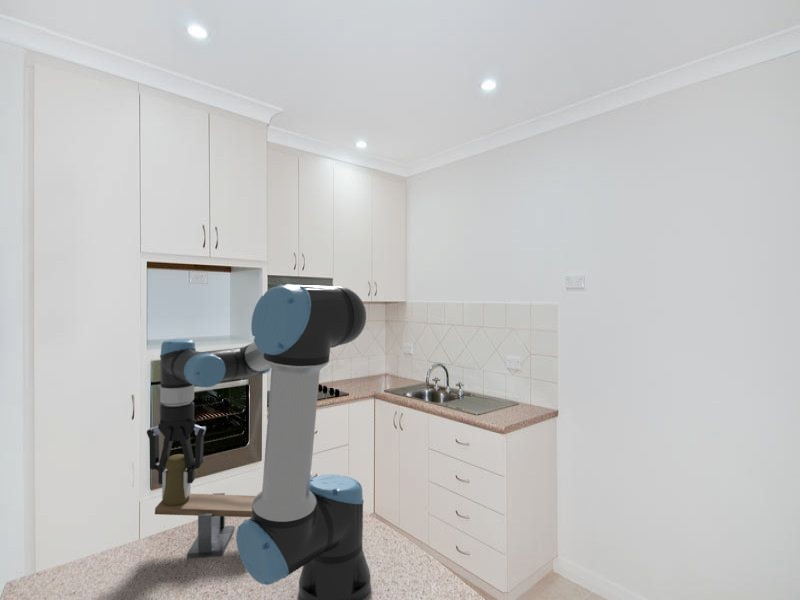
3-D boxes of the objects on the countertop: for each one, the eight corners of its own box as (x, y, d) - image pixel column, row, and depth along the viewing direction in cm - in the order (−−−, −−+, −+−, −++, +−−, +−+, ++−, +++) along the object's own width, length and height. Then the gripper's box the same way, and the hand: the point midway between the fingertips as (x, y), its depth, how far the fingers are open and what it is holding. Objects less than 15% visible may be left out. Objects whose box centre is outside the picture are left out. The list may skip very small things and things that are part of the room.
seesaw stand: (222, 556, 106) (222, 514, 106) (187, 558, 105) (187, 516, 105) (234, 530, 117) (234, 492, 117) (203, 531, 116) (202, 494, 116)
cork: (178, 507, 106) (180, 461, 106) (156, 503, 108) (158, 458, 107) (194, 496, 112) (196, 453, 112) (173, 493, 113) (175, 450, 113)
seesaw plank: (257, 521, 108) (258, 512, 108) (153, 518, 105) (154, 509, 105) (264, 503, 117) (265, 495, 117) (168, 500, 114) (169, 491, 114)
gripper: (218, 398, 114) (217, 488, 115) (147, 398, 112) (146, 490, 113) (209, 406, 107) (208, 502, 107) (132, 406, 105) (132, 504, 105)
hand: (176, 495), depth 110 cm, fingers closed on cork, 4 cm apart
